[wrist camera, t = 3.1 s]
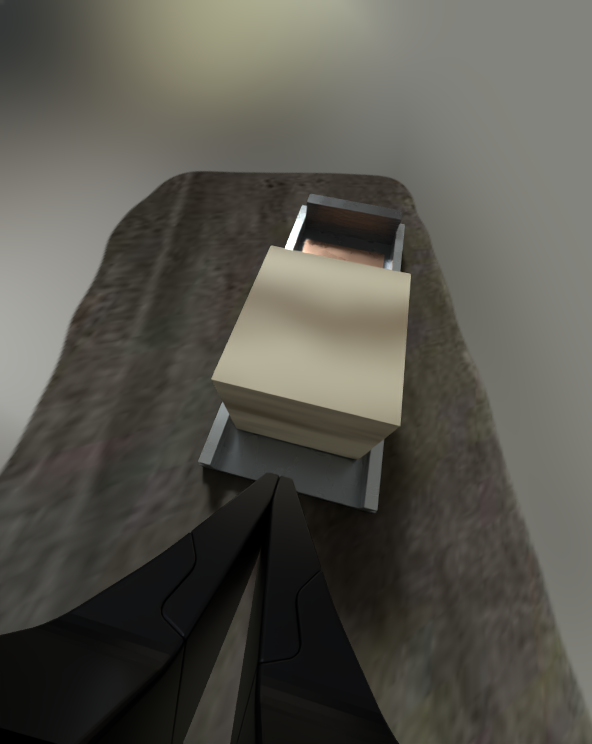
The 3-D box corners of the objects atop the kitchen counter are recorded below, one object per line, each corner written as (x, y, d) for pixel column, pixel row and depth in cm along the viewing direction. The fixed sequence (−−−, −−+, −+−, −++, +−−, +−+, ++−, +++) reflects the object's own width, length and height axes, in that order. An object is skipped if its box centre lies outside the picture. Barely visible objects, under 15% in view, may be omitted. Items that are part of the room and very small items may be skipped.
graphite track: (371, 513, 19) (391, 511, 16) (202, 466, 20) (185, 455, 17) (399, 246, 33) (413, 212, 29) (297, 226, 34) (299, 191, 30)
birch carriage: (357, 460, 19) (400, 425, 12) (236, 428, 20) (211, 379, 13) (373, 345, 24) (410, 273, 17) (274, 323, 25) (271, 245, 18)
